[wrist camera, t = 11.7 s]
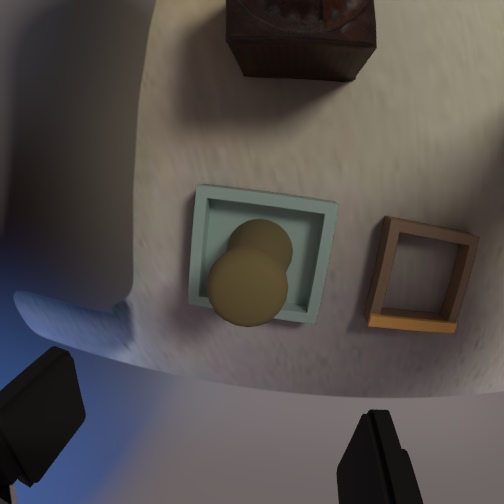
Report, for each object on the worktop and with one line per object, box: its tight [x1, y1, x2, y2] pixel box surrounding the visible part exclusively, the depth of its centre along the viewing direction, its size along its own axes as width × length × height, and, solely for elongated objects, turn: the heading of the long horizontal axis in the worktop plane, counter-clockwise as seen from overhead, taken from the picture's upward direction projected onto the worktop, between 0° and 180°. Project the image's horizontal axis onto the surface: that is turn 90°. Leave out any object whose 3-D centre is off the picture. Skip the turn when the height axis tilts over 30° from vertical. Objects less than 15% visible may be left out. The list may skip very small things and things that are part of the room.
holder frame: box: [363, 216, 479, 333], centre depth 28 cm, size 10×10×2 cm
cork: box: [207, 219, 293, 327], centre depth 24 cm, size 6×6×11 cm
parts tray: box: [188, 184, 339, 324], centre depth 29 cm, size 12×11×2 cm
